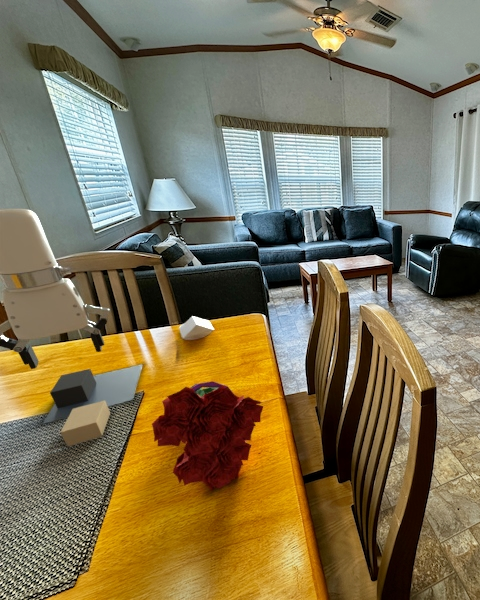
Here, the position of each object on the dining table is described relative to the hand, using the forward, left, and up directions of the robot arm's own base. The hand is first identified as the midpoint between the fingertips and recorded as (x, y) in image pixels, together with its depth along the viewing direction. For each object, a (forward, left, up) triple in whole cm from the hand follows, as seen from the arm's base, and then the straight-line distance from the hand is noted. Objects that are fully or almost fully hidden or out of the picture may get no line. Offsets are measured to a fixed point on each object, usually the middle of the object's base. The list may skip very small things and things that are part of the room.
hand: (68, 357), depth 67 cm
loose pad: (0, -3, -17) cm, 17 cm away
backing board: (-2, +13, -17) cm, 21 cm away
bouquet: (+22, -18, -17) cm, 33 cm away
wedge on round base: (+20, +36, -17) cm, 44 cm away
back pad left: (-6, +13, -16) cm, 21 cm away
